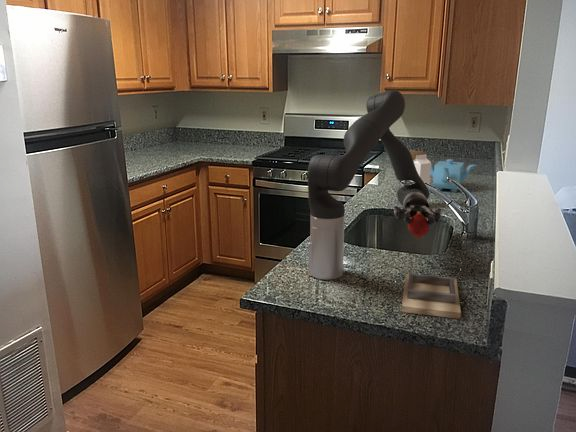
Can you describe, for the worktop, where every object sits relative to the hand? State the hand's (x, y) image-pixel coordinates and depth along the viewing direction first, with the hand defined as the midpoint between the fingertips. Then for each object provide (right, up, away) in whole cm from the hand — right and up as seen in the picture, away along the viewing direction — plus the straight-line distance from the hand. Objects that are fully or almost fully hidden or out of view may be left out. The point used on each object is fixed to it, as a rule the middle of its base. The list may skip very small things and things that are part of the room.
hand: (419, 220), depth 132 cm
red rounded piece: (0, -5, +4) cm, 7 cm away
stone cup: (+32, +23, +133) cm, 139 cm away
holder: (-1, -19, -13) cm, 23 cm away
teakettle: (+41, +14, +102) cm, 110 cm away
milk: (+19, +5, +72) cm, 74 cm away
